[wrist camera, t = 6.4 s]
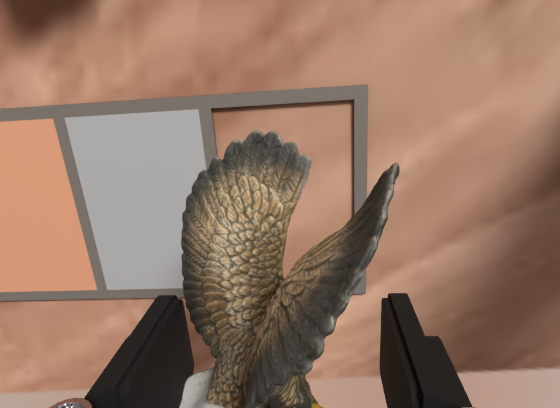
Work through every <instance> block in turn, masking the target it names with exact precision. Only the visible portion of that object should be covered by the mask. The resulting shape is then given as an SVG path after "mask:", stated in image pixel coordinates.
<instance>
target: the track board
mask: <svg viewBox="0 0 560 408" xmlns="http://www.w3.org/2000/svg"><path fill="white" fill-rule="evenodd" d="M352 99H354V215H355V214H356V212H357V211H358V210H359V209H360V208H361V207H362V205H363V204H364V202H365V201H366V199H367V118H368V85H354V86H339V87H324V88H309V89H294V90H279V91H264V92H249V93H234V94H219V95H204V96H189V97H174V98H159V99H144V100H129V101H114V102H99V103H84V104H69V105H54V106H39V107H24V108H9V109H0V301H22V300H74V299H126V298H157V297H158V296H159V295H176V296H177V298H178V297H184V294H183V284H182V283H183V280H184V277H183V275H182V259H181V256H182V254H183V250H182V247H181V238H182V235H181V233H182V228H183V222H182V213H183V212H184V211H185V209H186V198H187V196H188V195H189V194H191V192H192V186H193V184H194V182H195V181H196V179H197V178H198V174H199V173H200V172H201V171H202V170H204V169H205V170H208V169H209V165H210V162H211V160H212V158H214V157H218V155H217V147H216V138H215V130H214V122H213V114H212V108H226V107H241V106H257V105H273V104H289V103H304V102H320V101H336V100H352ZM353 294H366V269H365V271H364V273H363V276H362V279H361V280H360V282H359V283H358V285H357V287H356V288H355V290H354V292H353Z"/></svg>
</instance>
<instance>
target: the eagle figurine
mask: <svg viewBox="0 0 560 408" xmlns="http://www.w3.org/2000/svg"><path fill="white" fill-rule="evenodd" d="M310 166H311V160H310V158H309V157H307V156H305V155H303V156H302V155H300V154H299V151H298V148H297V145H296V144H295V143H293V142H287V143H283V142H282V139H281V136H280V135H279V134H278V133H277V132H275V131H270V132H269V133H267V134H266V135H264V134H263V133H262V132H261V131H258V130H256V131H253V132H251V133H250V134H249V135H248V137H247V138H246V139H245V141H244V142H240V141H239V140H234V141H232V142H231V143H230V144H229V145H228V147H227V149H226V151H225V155H224V159H223V160H221V159H220V158H219V157H214V158H212V160H211V162H210V165H209V169H208V170H205V169H204V170H202V171H201V172H200V173H199V174H198V178H197V179H196V181H195V182H194V184H193V186H192V192H191V194H189V195H188V196H187V198H186V209H185V211H184V212H183V213H182V222H183V228H182V233H181V235H182V238H181V247H182V250H183V254H182V256H181V259H182V275H183V277H184V280H183V283H182V284H183V294H184V297H185V299H186V307H187V309H188V310H189V312H190V319H191V322H192V323H194V324H195V329H196V331H197V332H198V333H199V334H201V335H202V338H203V340H204V342H205V343H206V344H207V345H208V346H210V351H211V354H212V356H213V357H215V358H216V359H217V360H216V363H215V367H213V368H211V369H208V370H205V371H203V372H199V373H196V374H194V375H192V376H190V377H189V378H188V379H187V380H186V383H185V387H184V391H183V397H182V402H181V404H180V407H179V408H323V407H321V406H320V405H319V404H318V402H317V401H316V400H315V398H314V397H313V396H312V394H311V391H310V386H309V384H308V382H307V381H306V379H305V374H307V373H309V372H310V371H311V369H312V366H313V362H314V360H316V359H318V358H319V357H320V356H321V355H322V353H323V351H324V339H325V337H326V336H328V335H330V334H332V333H333V331H334V329H335V325H336V321H337V317H339V316H340V315H341V314H342V313H343V312H344V310H345V308H346V306H347V304H348V302H349V300H350V298H351V295H352V294H353V292H354V290H355V288H356V287H357V285H358V283H359V282H360V280H361V279H362V276H363V273H364V271H365V269H366V268H367V266H368V264H369V263H370V261H371V259H372V257H373V256H374V253H375V251H376V249H377V247H378V241H379V239H380V237H381V234H382V231H383V228H384V226H385V224H386V221H387V219H388V205H389V203H390V201H391V199H392V197H393V193H394V184H395V180H396V178H397V177H398V176H399V165H398V163H394V164H393V165H392V166H391V167H390V168H389V169H387V170H386V171H384V172H383V174H382V175H381V177H380V178H379V180H378V182H377V183H376V185H375V186H374V187H373V189H372V191H371V193H370V195H369V196H368V198H367V199H366V201H365V202H364V204H363V205H362V207H361V208H360V209H359V210H358V211H357V212H356V214H355V215H354V216H353V217H352V218H351V219H350V220H349V221H348V223H347V224H346V225H345V226H344V227H343V228H342V229H341V230H339V231H337V232H335V233H333V234H332V235H330V236H328V237H327V238H326V239H324V240H323V241H322V242H321V243H320V244H318V245H316V246H314V247H312V248H311V249H310V250H309V251H308V252H307V253H305V254H304V255H303V256H302V257H301V258H300V259H299V260H298V261H297V262H296V263H295V264H294V266H293V267H292V269H291V271H290V272H289V274H288V275H287V277H286V278H285V279H284V278H283V271H282V262H283V256H284V250H285V243H286V237H287V229H288V225H289V221H290V217H291V215H292V213H293V211H294V209H295V206H296V204H297V202H298V200H299V199H300V196H301V193H302V189H303V187H304V185H305V183H306V181H307V178H308V175H309V170H310Z"/></svg>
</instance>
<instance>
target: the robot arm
mask: <svg viewBox="0 0 560 408" xmlns="http://www.w3.org/2000/svg"><path fill="white" fill-rule="evenodd" d="M193 370H194V361H193V355H192V350H191V344H190V339H189V333H188V328H187V322H186V316H185V311H184V305H183V301H182V300H181V299H178V298H177V296H176V295H159V296H158V297H157V298H156V299H155V300H154V302H153V303H152V305H151V306H150V308H149V309H148V310H147V312H146V313H145V315H144V316H143V318H142V319H141V320H140V322H139V323H138V325H137V326H136V328H135V329H134V330H133V332H132V333H131V335H130V336H128V338H127V339H126V340H125V341H124V343H123V344H122V345H121V347H120V348H119V350H118V351H117V352H116V354H115V355H114V357H113V358H112V360H111V361H110V362H109V364H108V365H107V367H106V368H105V369H104V371H103V372H102V374H101V375H100V377H99V378H98V379H97V381H96V382H95V384H94V385H93V386H92V388H91V389H90V391H89V392H88V394H87V395H86V396H85V398H84V399H83V398H72V399H67V400H64V401H61V402H59V403H57V404H55V405H53V406H51V407H50V408H179V407H180V404H181V402H182V397H183V391H184V387H185V383H186V380H187V379H188V378H189V377H190V376H192V374H193ZM380 374H381V380H382V384H383V389H384V394H385V398H386V403H387V407H388V408H475V407H472V405H471V403H470V401H469V398H468V396H467V394H466V392H465V390H464V388H463V386H462V383H461V381H460V379H459V377H458V375H457V373H456V371H455V369H454V366H453V364H452V362H451V360H450V358H449V356H448V354H447V352H446V349H445V347H444V345H443V343H442V341H441V339H440V338H439V337H438V336H425V335H424V333H423V330H422V328H421V326H420V323H419V321H418V318H417V316H416V314H415V311H414V309H413V306H412V304H411V302H410V299H409V297H408V295H407V294H406V293H389V294H388V298H382V307H381V342H380Z"/></svg>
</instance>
